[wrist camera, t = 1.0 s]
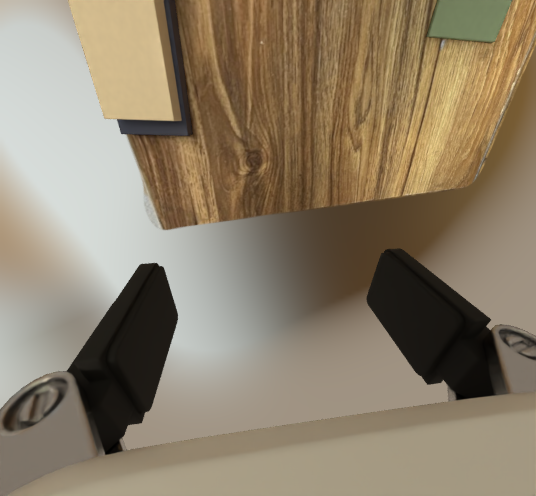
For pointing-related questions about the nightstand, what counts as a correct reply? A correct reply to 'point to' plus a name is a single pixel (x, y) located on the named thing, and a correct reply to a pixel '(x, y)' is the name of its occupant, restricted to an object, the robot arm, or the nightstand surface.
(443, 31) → the mat
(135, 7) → the tan cardboard box
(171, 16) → the navy rectangular box
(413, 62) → the nightstand surface
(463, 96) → the nightstand surface
